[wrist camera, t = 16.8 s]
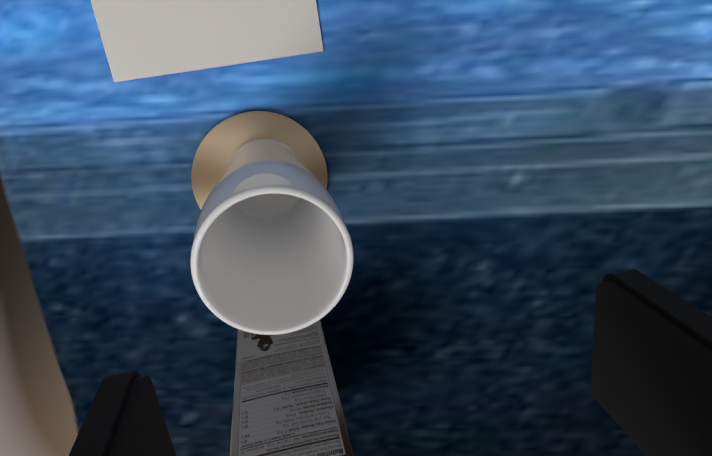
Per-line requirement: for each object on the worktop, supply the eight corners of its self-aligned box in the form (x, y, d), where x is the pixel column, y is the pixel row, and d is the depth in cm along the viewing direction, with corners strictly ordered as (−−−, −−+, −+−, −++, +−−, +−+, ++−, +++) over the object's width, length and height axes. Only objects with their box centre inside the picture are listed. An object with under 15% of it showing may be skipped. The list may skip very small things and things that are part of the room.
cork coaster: (177, 122, 34) (175, 124, 33) (315, 100, 35) (316, 101, 34) (209, 250, 37) (209, 253, 36) (335, 226, 38) (336, 229, 37)
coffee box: (333, 402, 43) (377, 592, 28) (255, 419, 42) (257, 625, 27) (318, 304, 40) (357, 461, 25) (233, 321, 39) (221, 493, 24)
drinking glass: (191, 170, 34) (149, 260, 20) (270, 104, 34) (284, 149, 20) (260, 243, 37) (265, 366, 23) (335, 182, 36) (387, 270, 22)
